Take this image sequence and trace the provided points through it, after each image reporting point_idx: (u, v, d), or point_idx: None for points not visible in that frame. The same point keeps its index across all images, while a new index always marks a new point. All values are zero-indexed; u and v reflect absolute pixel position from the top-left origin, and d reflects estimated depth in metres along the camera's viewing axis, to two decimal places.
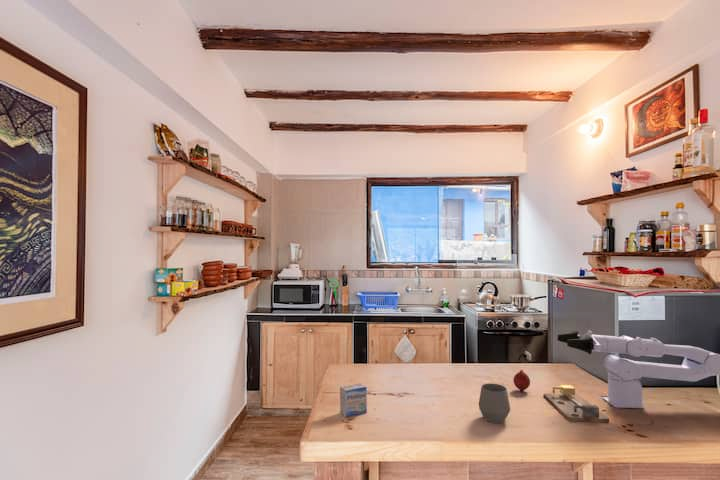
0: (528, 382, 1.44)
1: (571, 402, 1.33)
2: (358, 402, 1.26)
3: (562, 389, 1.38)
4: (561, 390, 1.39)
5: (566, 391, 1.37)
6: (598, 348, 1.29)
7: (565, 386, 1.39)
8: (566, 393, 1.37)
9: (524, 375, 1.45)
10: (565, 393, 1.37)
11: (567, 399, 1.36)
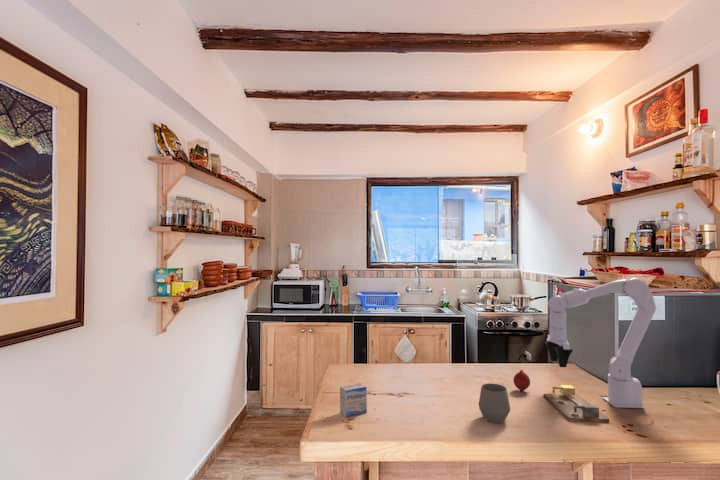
0: (528, 382, 1.44)
1: (571, 402, 1.33)
2: (357, 402, 1.26)
3: (562, 389, 1.38)
4: (561, 390, 1.39)
5: (566, 391, 1.37)
6: (567, 346, 1.39)
7: (565, 386, 1.39)
8: (566, 393, 1.37)
9: (524, 375, 1.45)
10: (565, 393, 1.37)
11: (567, 399, 1.36)
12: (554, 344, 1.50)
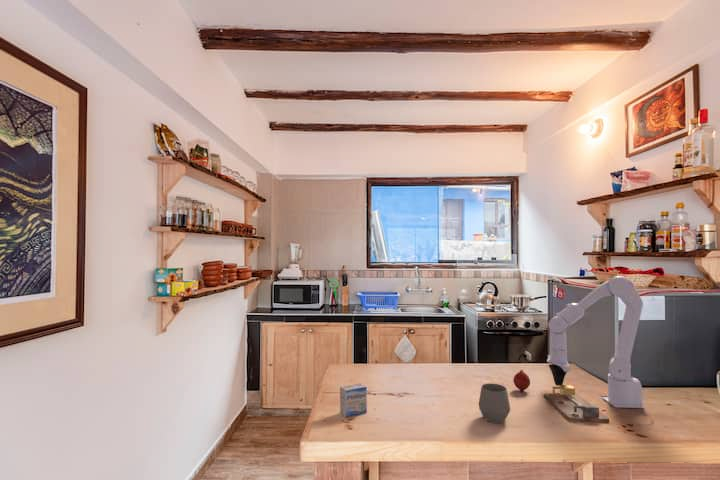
0: (528, 382, 1.44)
1: (571, 402, 1.33)
2: (357, 402, 1.26)
3: (562, 389, 1.38)
4: (561, 390, 1.39)
5: (566, 391, 1.37)
6: (567, 368, 1.39)
7: (565, 386, 1.39)
8: (566, 393, 1.37)
9: (524, 375, 1.45)
10: (565, 393, 1.37)
11: (567, 399, 1.36)
12: None
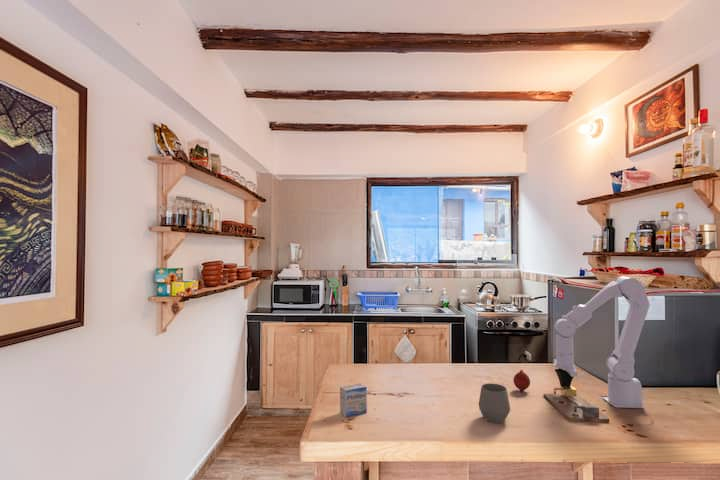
0: (528, 382, 1.44)
1: (571, 402, 1.33)
2: (357, 402, 1.26)
3: (564, 390, 1.37)
4: (562, 391, 1.38)
5: (567, 392, 1.36)
6: (575, 373, 1.33)
7: (566, 387, 1.38)
8: (567, 394, 1.36)
9: (524, 375, 1.45)
10: (566, 394, 1.36)
11: (567, 399, 1.36)
12: None
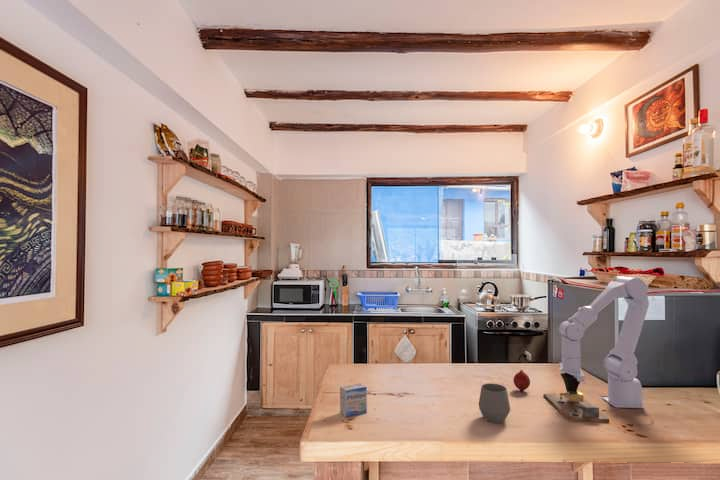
0: (528, 382, 1.44)
1: (571, 402, 1.33)
2: (357, 402, 1.26)
3: (570, 396, 1.32)
4: (569, 396, 1.33)
5: (574, 398, 1.32)
6: (582, 378, 1.29)
7: (573, 392, 1.33)
8: (574, 400, 1.32)
9: (524, 375, 1.45)
10: (573, 400, 1.32)
11: (567, 399, 1.36)
12: None
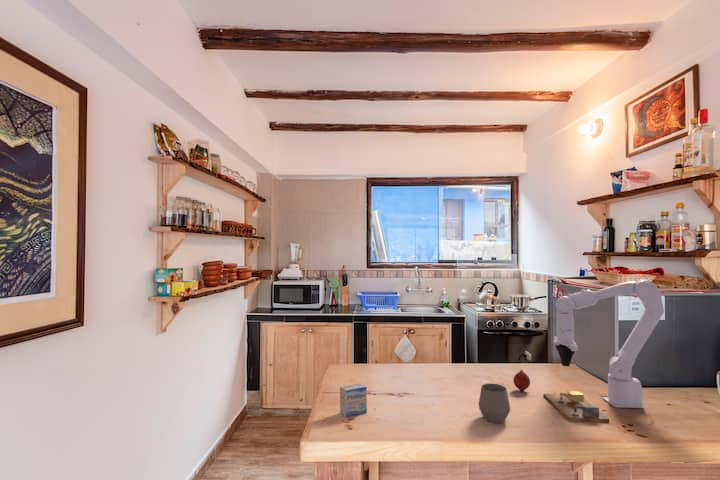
0: (528, 382, 1.44)
1: (571, 402, 1.33)
2: (357, 402, 1.26)
3: (570, 396, 1.32)
4: (569, 396, 1.33)
5: (574, 398, 1.31)
6: (575, 348, 1.37)
7: (573, 392, 1.33)
8: (574, 400, 1.31)
9: (524, 375, 1.45)
10: (573, 400, 1.31)
11: (567, 399, 1.36)
12: None
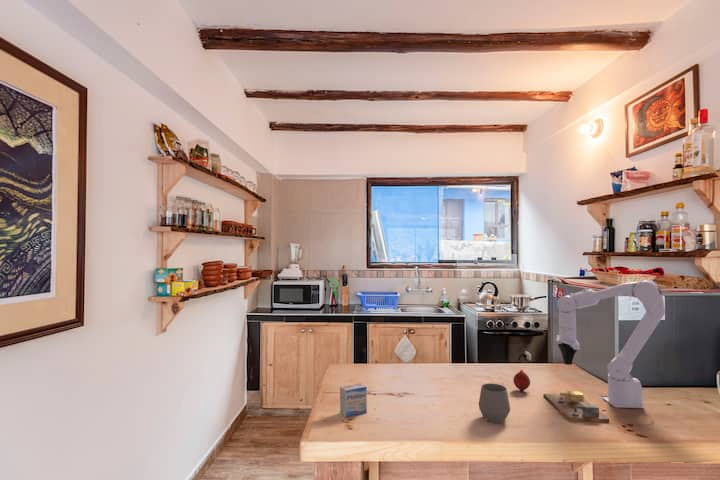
0: (528, 382, 1.44)
1: (571, 402, 1.33)
2: (357, 402, 1.26)
3: (570, 396, 1.32)
4: (569, 396, 1.33)
5: (574, 398, 1.31)
6: (577, 346, 1.39)
7: (573, 392, 1.33)
8: (574, 400, 1.31)
9: (524, 375, 1.45)
10: (573, 400, 1.31)
11: (567, 399, 1.36)
12: None
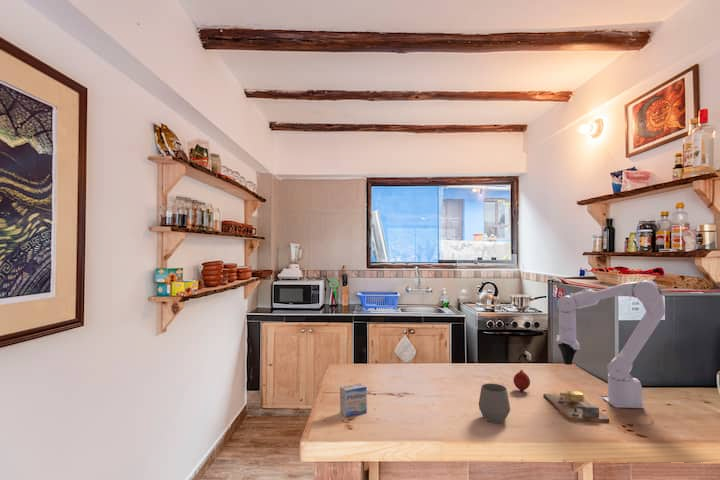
0: (528, 382, 1.44)
1: (571, 402, 1.33)
2: (357, 402, 1.26)
3: (570, 396, 1.32)
4: (569, 396, 1.33)
5: (574, 398, 1.31)
6: (577, 346, 1.39)
7: (573, 392, 1.33)
8: (574, 400, 1.31)
9: (524, 375, 1.45)
10: (573, 400, 1.31)
11: (567, 399, 1.36)
12: None
